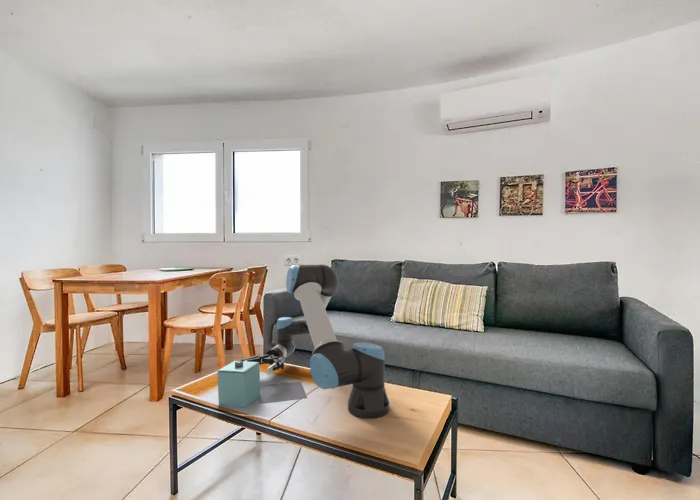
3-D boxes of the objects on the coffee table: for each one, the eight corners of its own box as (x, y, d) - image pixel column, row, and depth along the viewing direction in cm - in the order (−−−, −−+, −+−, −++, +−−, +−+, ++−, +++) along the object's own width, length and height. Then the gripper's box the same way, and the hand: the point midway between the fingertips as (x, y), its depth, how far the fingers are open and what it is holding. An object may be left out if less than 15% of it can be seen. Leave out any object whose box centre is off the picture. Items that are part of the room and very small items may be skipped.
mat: (307, 399, 132) (307, 398, 132) (259, 405, 126) (259, 403, 126) (300, 382, 149) (300, 381, 149) (258, 387, 144) (258, 385, 144)
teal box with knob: (260, 395, 134) (259, 358, 134) (245, 407, 124) (244, 367, 124) (235, 393, 137) (234, 357, 137) (218, 405, 126) (217, 366, 126)
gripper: (300, 365, 157) (281, 381, 137) (251, 361, 163) (225, 376, 143) (300, 348, 157) (281, 363, 137) (251, 345, 163) (226, 358, 143)
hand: (252, 370), depth 140 cm, fingers open, 13 cm apart
